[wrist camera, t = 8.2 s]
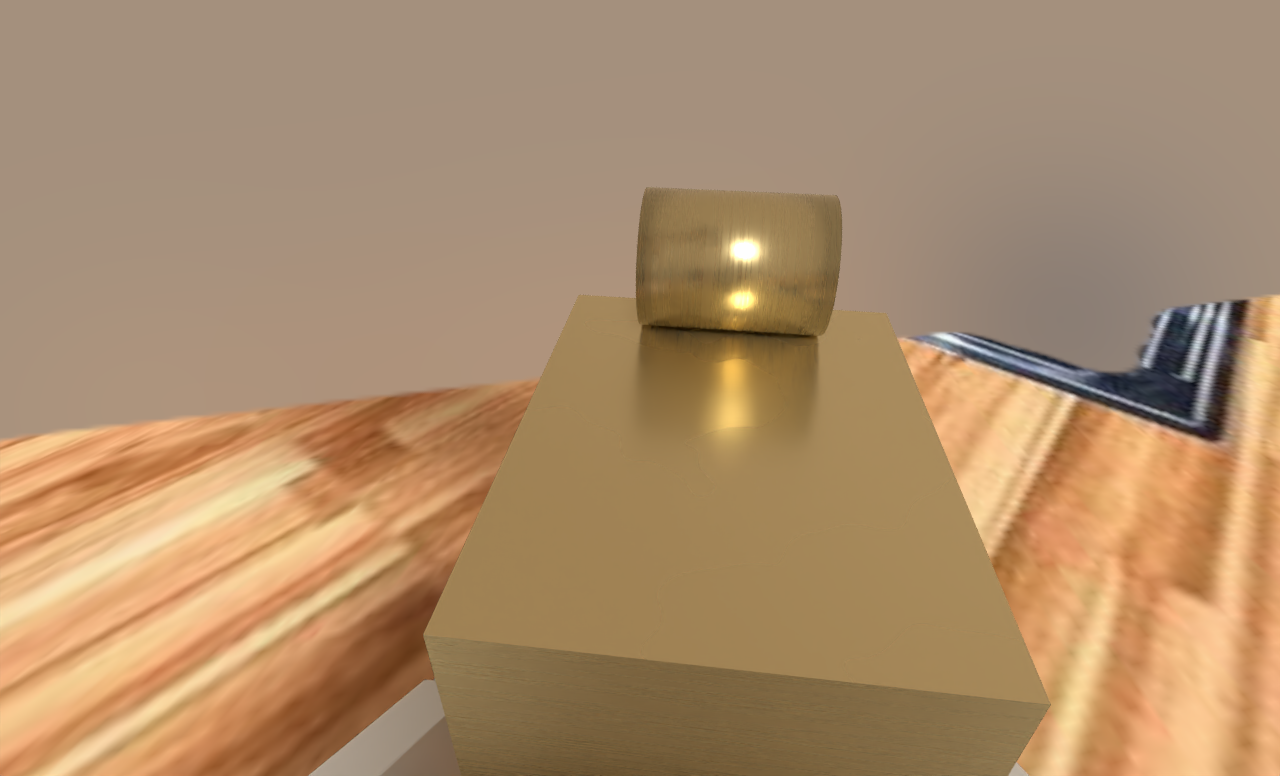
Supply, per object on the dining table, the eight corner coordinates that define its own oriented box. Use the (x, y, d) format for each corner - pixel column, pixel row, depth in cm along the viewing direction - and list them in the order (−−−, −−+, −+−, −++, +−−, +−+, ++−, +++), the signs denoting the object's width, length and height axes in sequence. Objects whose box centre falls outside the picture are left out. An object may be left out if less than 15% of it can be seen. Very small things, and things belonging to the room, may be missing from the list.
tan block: (536, 1053, 11) (372, 447, 4) (600, 699, 16) (577, 167, 9) (812, 1100, 11) (1167, 513, 4) (786, 721, 16) (910, 181, 9)
